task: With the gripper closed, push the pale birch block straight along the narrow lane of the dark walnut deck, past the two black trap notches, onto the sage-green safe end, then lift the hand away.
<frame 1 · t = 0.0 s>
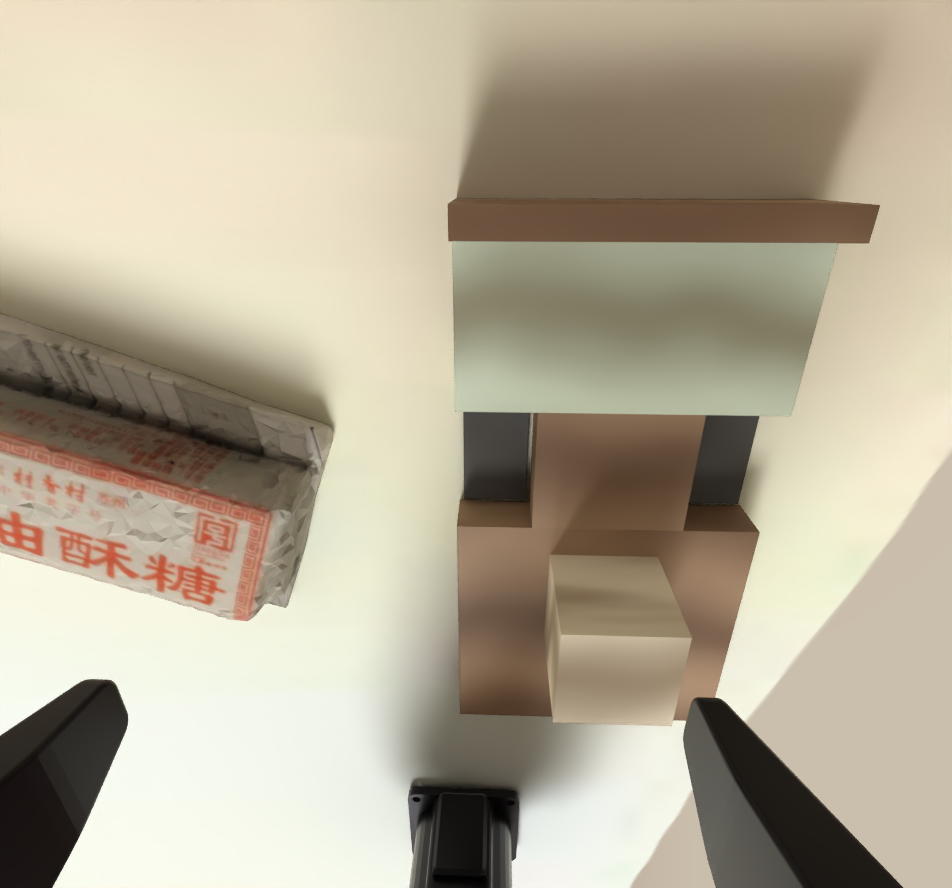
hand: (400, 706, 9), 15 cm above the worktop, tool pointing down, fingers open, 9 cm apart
trap deck: (598, 502, 24), on the worktop
birch block: (598, 597, 24), point 2 cm above the worktop, touching trap deck
packaged product: (118, 449, 24), on the worktop
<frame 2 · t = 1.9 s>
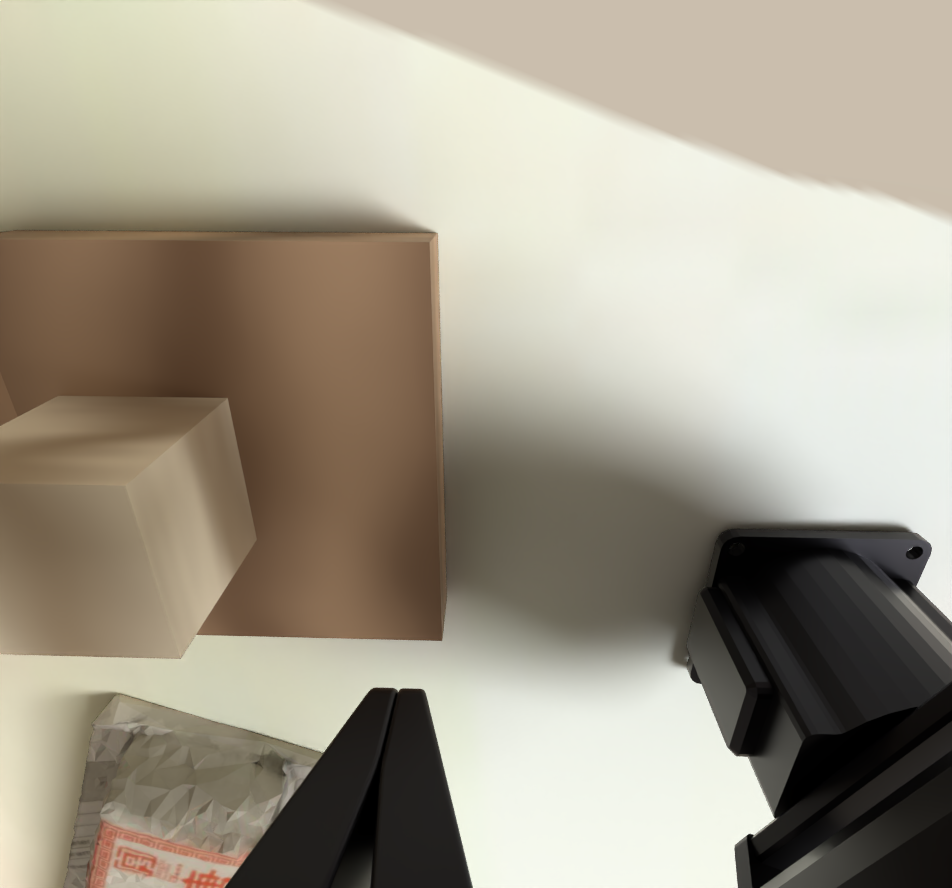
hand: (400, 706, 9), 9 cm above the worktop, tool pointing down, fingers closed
trap deck: (86, 438, 17), on the worktop
birch block: (163, 471, 15), point 2 cm above the worktop, touching trap deck
packaged product: (199, 824, 27), on the worktop
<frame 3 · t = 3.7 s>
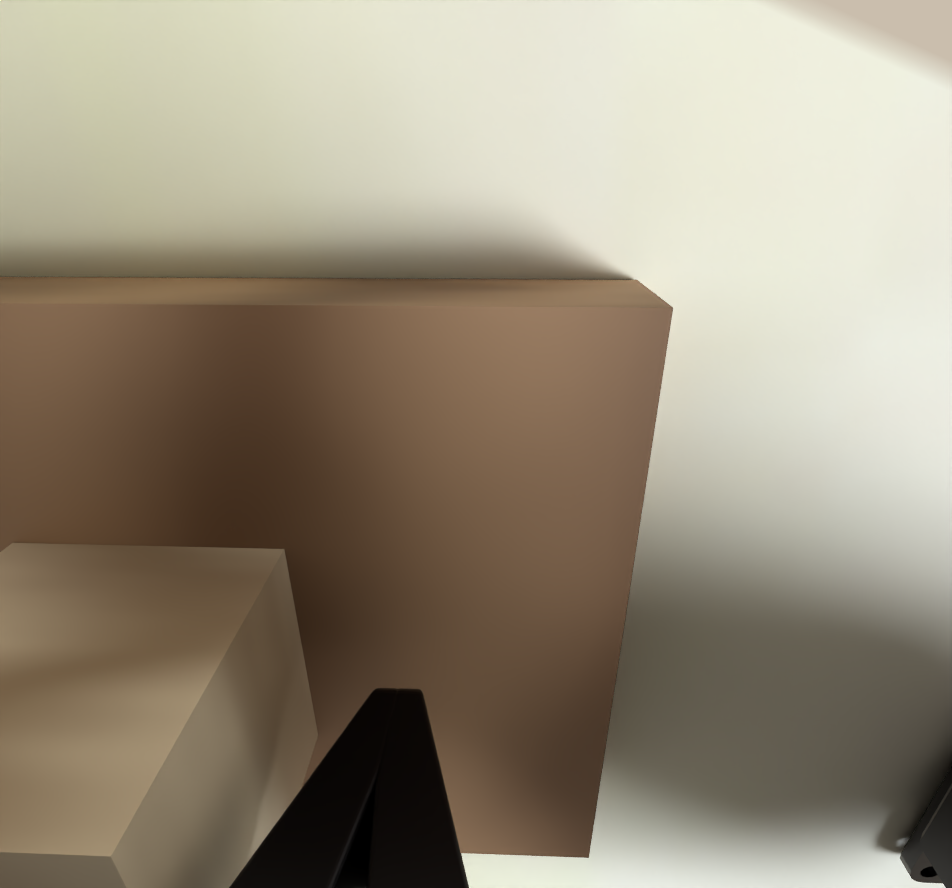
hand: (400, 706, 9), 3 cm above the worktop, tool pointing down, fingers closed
trap deck: (74, 570, 12), on the worktop
birch block: (179, 647, 10), point 2 cm above the worktop, touching gripper
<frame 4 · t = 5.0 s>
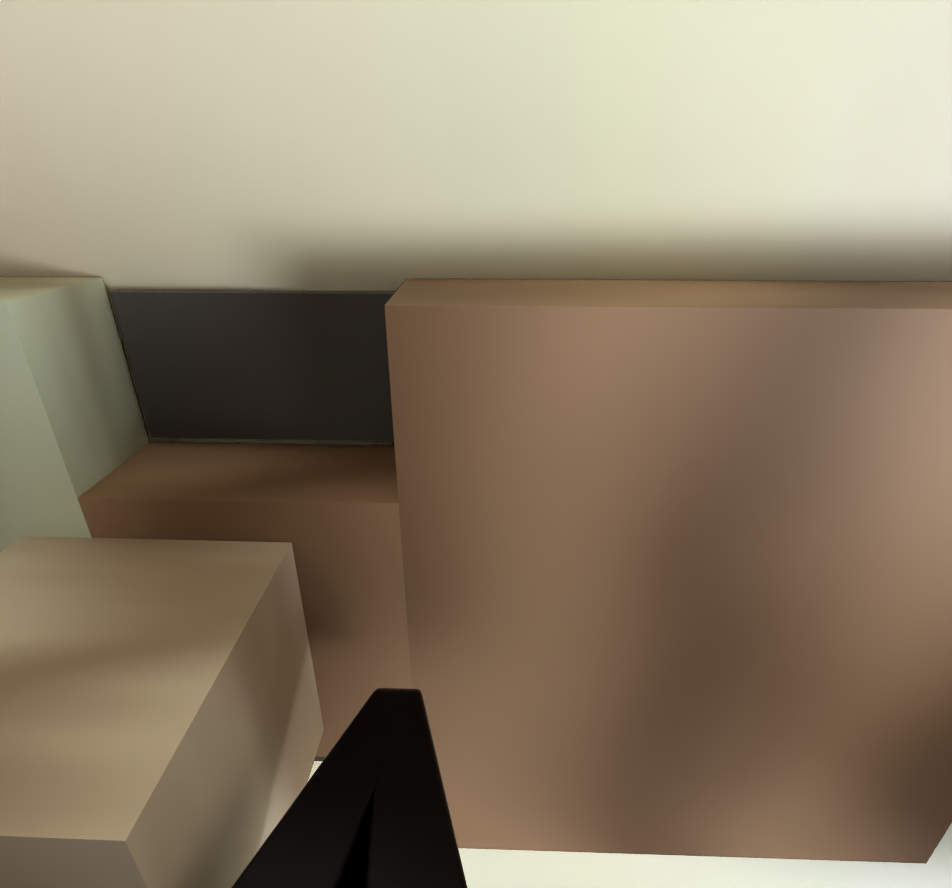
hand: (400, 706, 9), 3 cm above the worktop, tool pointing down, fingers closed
trap deck: (422, 574, 12), on the worktop
birch block: (186, 641, 10), point 2 cm above the worktop, touching gripper, trap deck
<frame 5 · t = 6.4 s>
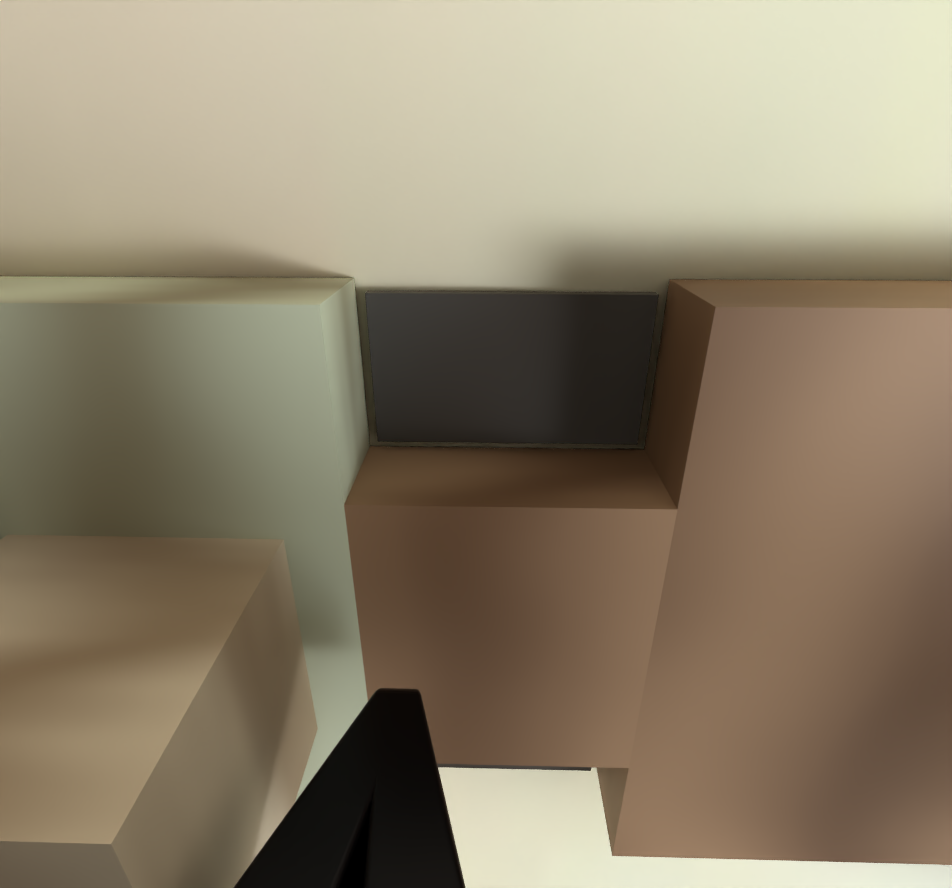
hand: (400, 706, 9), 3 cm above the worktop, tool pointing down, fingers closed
trap deck: (624, 580, 11), on the worktop
birch block: (177, 640, 10), point 2 cm above the worktop, touching gripper, trap deck
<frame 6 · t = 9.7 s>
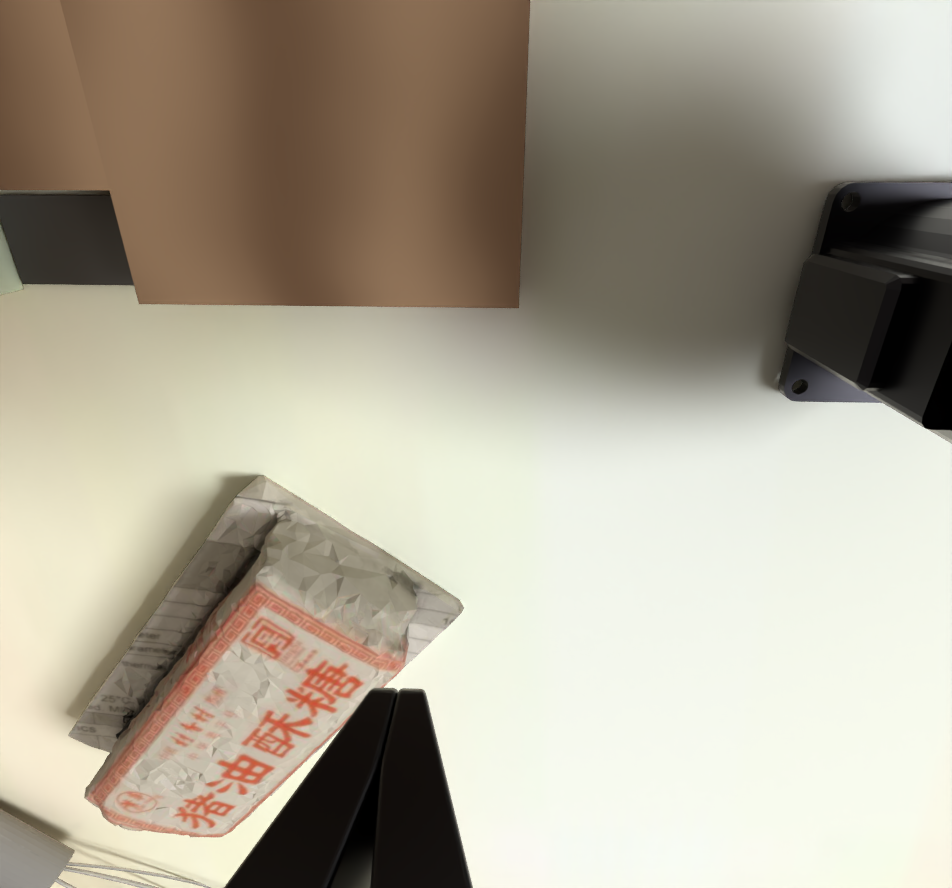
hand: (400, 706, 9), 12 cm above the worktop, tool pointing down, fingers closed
trap deck: (123, 68, 15), on the worktop
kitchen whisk: (89, 835, 33), on the worktop
packaged product: (263, 650, 26), on the worktop
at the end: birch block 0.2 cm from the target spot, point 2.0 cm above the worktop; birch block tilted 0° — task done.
